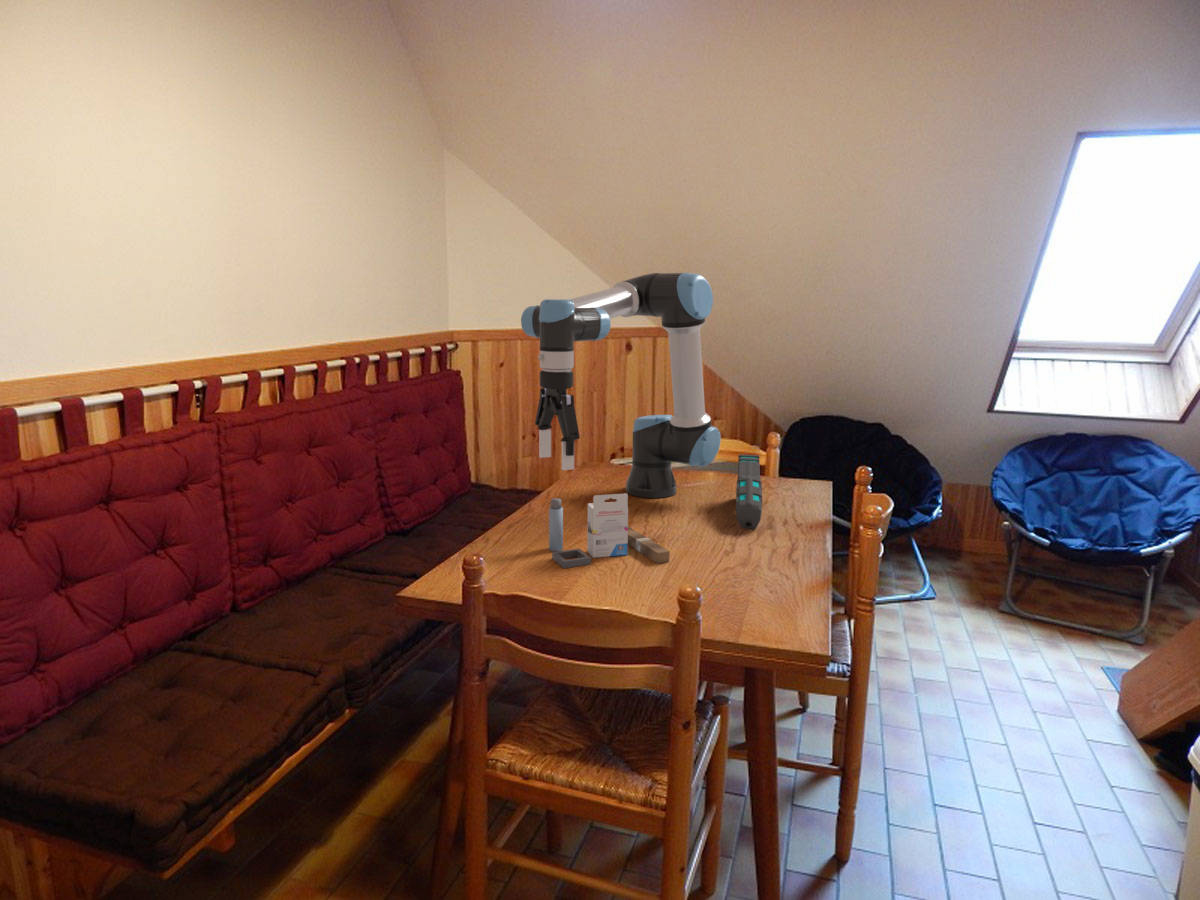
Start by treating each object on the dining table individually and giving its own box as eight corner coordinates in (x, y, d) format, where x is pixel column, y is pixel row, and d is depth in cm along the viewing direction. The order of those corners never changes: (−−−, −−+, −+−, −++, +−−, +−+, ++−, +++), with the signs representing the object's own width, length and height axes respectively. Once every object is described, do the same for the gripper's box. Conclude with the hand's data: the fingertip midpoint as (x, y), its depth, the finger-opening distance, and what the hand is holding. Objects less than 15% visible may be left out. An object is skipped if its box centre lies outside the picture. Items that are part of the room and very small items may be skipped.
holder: (552, 558, 173) (552, 552, 173) (578, 554, 176) (578, 548, 176) (563, 568, 168) (563, 561, 167) (591, 564, 170) (591, 557, 170)
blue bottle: (547, 547, 181) (547, 498, 178) (559, 546, 182) (559, 497, 179) (552, 552, 178) (552, 502, 175) (564, 550, 179) (565, 500, 177)
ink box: (621, 548, 181) (622, 487, 178) (627, 555, 176) (629, 493, 173) (586, 551, 179) (587, 489, 176) (592, 558, 174) (592, 495, 171)
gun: (757, 493, 225) (760, 449, 218) (759, 555, 200) (762, 507, 193) (735, 492, 226) (737, 448, 219) (733, 553, 201) (736, 505, 194)
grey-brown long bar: (609, 532, 192) (609, 522, 192) (620, 531, 194) (620, 521, 193) (657, 563, 171) (657, 552, 171) (669, 561, 173) (669, 550, 172)
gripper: (521, 364, 180) (521, 453, 185) (562, 376, 159) (562, 476, 163) (550, 363, 184) (550, 451, 188) (595, 375, 162) (594, 473, 166)
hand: (556, 463), depth 176 cm, fingers open, 13 cm apart
